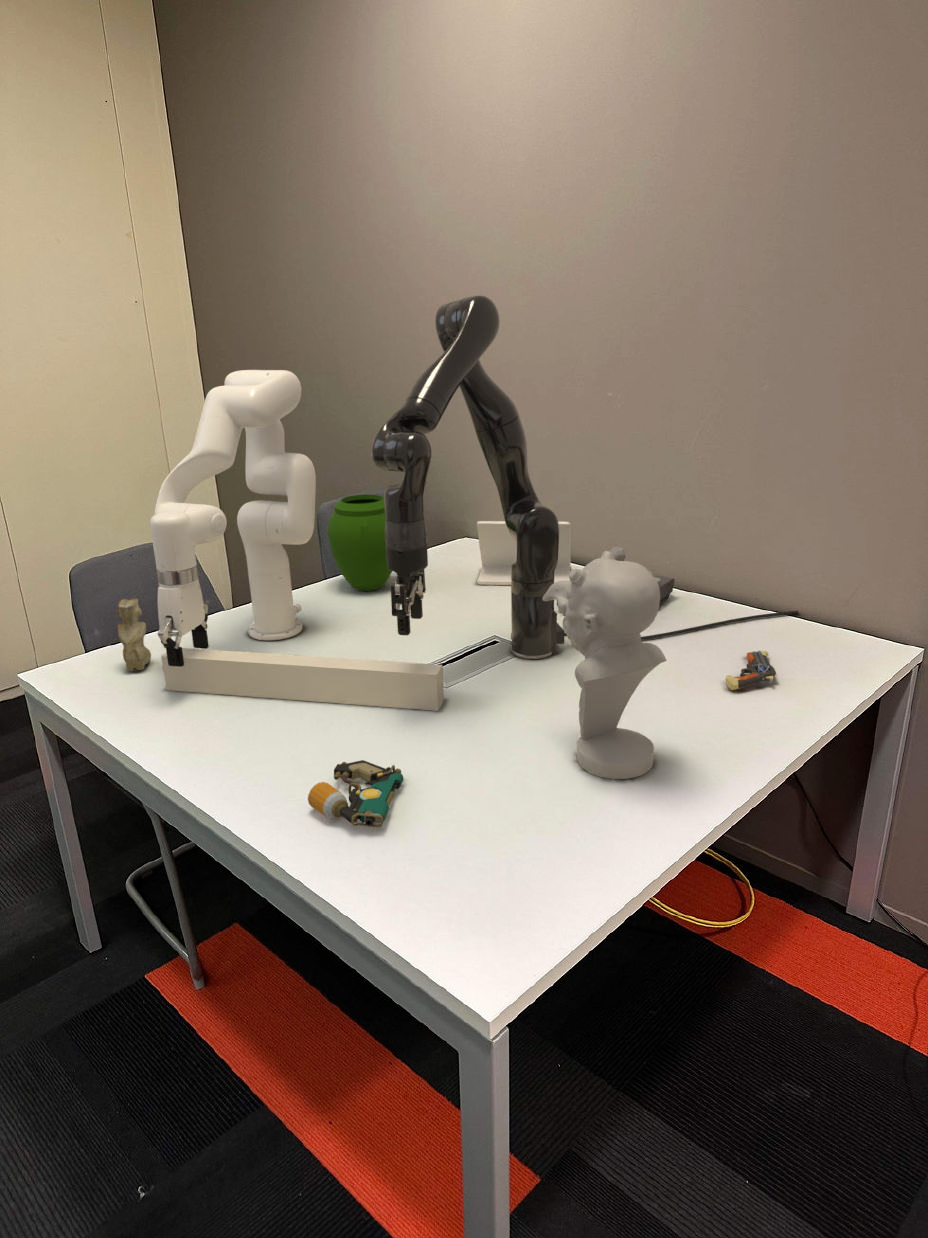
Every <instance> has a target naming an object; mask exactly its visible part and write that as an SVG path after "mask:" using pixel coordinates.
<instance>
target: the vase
mask: <svg viewBox="0 0 928 1238" xmlns="http://www.w3.org/2000/svg"><path fill="white" fill-rule="evenodd" d="M384 505H385V504H384V496H381V495H378V494H354V495H348V496H344V497H343V498H341V499H340V500H339V501H337V503H335V505H334V506H333V507H334V508H333V509H334V512H333V513H332V515H331V516H330V517H329V519H328V526H327V537H328V538H327V539H328V542H329V545H330V550H331V553H332V557H333V559H334V561H335V563H336V565H337V568H338V570H339V572H340V574H341V575H342V577H343V578H344V580H345V581H346V582H347V584H349V585H350V586H351V587H352V588H353V589H355V590H357V591H361V592H371V591H377V590H379V589H381V588H383V587H384V586H385V585H386V584H387V582H388V581H389V578H390V577H391V575H392V574H393V571H391V570H389V569H388V568H387V561H386V545H385V506H384Z"/></svg>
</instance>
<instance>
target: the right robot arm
mask: <svg viewBox="0 0 928 1238" xmlns="http://www.w3.org/2000/svg"><path fill="white" fill-rule="evenodd" d="M434 317H435V318H434V325H435V331H436V335H437V338H438V341H439V344H440V346H441V349H442V351H443V353H442V354H441V355H440V356H439V357H438V358H437V359H436V360H435V361H434V362H433V363H432V364H431V365H430V366H429V367H427V369H425V371H424V372H423V373H422V374H421V375H420V376H419V378H418V379H417V380H416V381H415V383H414V385H413V386H412V388H411V390H410V391H409V394H408V396H407V397H406V399H405V401H404V402H403V405H402V406H401V407H400V408H399V409H398V410H397V411H396V412H395V413H394V414H393V415H392V416H391V417H390V418H389V419H388V420H387V421H386V422H385V423H384V424H383V425H382V426H381V427H380V428H379V429H378V431H377V432H376V434H375V436H374V438H373V440H372V443H371V447H370V454H371V460H372V462H373V464H374V465H375V467H376V468H379V469H380V470H383V471H390V472H399V473H400V472H401V473H403V478H402V480H401V481H402V482H400V483H395V484H391V485H389V486H387V487H386V488H385V490H384V493H383V494H384V495H383V498H384V504H385V505H384V506H385V545H386V561H387V568H388V569H389V570H391V571H392V572H394V573H395V574H396V579H395V581H394V583H391V585H390V600H391V601H390V603H391V617H396V624H397V625H396V626H397V634H398V635H399V636H409V635H410V634H411V632H412V631H411V619H413V620H414V619H415V620H421V619H423V616H424V612H423V600H424V593H426V591H427V588H426V575H425V569H426V568H428V567H429V556H428V554H429V553H428V535H427V533H428V532H427V525H426V520H425V500H424V498H425V497H424V495H425V490H426V486H427V485H426V484H427V479H428V474H429V470H430V467H431V462H432V452H433V451H432V446H431V444H430V441H429V439H428V437H427V436H426V435H429V434H432V433H433V432H434V431H435V430H436V429H437V427H438V425H439V424H440V421H441V420H442V418H443V416H444V414H445V412H446V410H447V408H448V406H449V405H450V402H451V401H452V398H453V397H454V396H455V393H456V392H457V390H458V388H459V389H460V391H461V394H462V397H463V399H464V402H465V404H466V407H467V410H468V413H469V416H470V419H471V421H472V425H473V429H474V431H475V434H476V437H477V441H478V442H479V446H480V448H481V451H482V453H483V457H484V458H485V461H486V464H487V467H488V470H489V471H490V474H491V476H492V478H493V480H494V484H495V486H496V489H497V492H498V496H499V500H500V505H501V510H502V514H503V518H504V521H505V523H506V526H507V529H508V531H509V533H510V535H511V536H512V537H513V538H514V539H515V540H517V558H516V562H514V563H513V564H512V566H511V585H510V588H511V589H510V597H511V599H510V603H511V604H510V606H511V607H510V609H511V610H510V615H511V617H510V618H511V621H510V622H511V633H510V640H511V643H510V644H511V647H510V651H511V653H512V655H513V656H515V657H518V658H521V659H525V660H526V659H527V660H540V659H545V658H548V657H550V656H552V655H557V654H558V653H557V650H558V649H557V648H558V647H557V645H564V644H565V637H567V635H566V632H565V631H564V630H563V627H562V625H560V624H559V623H558V613H557V612H556V611H555V600H550V601H543V596H544V595H545V594H546V592H547V591H548V589H549V588H550V586H551V585H552V584H554V572H555V568H556V566H557V562H558V549H559V523H558V522H559V519H558V517H557V515H556V513H555V512H554V511H553V510H552V509H550V508H549V507H547V506H545V505H544V504H542V503H541V502H540V500H539V497H538V495H537V493H536V491H535V488H534V486H533V483H532V480H531V477H530V474H529V473H530V472H529V468H528V444H527V437H526V434H525V430H524V426H523V424H522V420H521V416H520V415H519V412H518V409H517V406H516V404H515V403H514V401H513V400H512V398H511V397H510V396H509V395H508V394H507V393H506V392H505V391H504V390H503V389H502V388H501V387H500V386H499V385H498V384H497V383H496V382H495V381H494V380H493V379H492V378H491V377H490V376H489V374H488V373H487V371H486V370H485V368H484V367H483V365H482V363H481V360H480V359H481V357H482V356H483V355H484V354H485V352H486V351H487V350H488V348H489V347H490V346H491V344H492V343H493V342H494V341H495V339H496V338H497V335H498V333H499V329H500V313H499V310H498V308H497V305H496V304H495V303H494V302H493V300H492V299H490V298H489V297H488V296H486V295H482V294H479V295H478V294H477V295H470V296H467V297H463V298H461V299H457V300H453V301H450V302H447V303H444V304H442V305H441V306H440V307H438V309H437V310H436V313H435V316H434ZM799 614H800V613H799V610H793V611H782V612H781V611H780V612H770V613H762V614H756V615H751V616H744V617H738V618H732V619H727V620H722V621H717V622H712V623H707V624H702V625H697V626H693V627H687V628H683V629H679V630H674V631H668V632H663V633H658V634H657V633H656V634H651V635H650V634H649V635H645V636H641V641H645V640H651V639H652V640H653V639H657V638H664V637H669V636H674V635H678V634H685V633H690V632H695V631H699V630H702V629H703V630H704V629H708V628H713V627H717V626H723V625H727V624H732V623H738V622H743V621H749V620H755V619H756V620H757V619H763V618H771V617H779V616H788V615H789V616H791V615H799Z"/></svg>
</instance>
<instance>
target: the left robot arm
mask: <svg viewBox="0 0 928 1238" xmlns="http://www.w3.org/2000/svg"><path fill="white" fill-rule="evenodd" d="M301 397H302V384H301V381H300V380H299V378H298V376H297V375H296V374H295V373H293V372H292V371H290V370H286V369H242V370H235V371H233V372H230V373H229V374H228V375H226V377H225V379H224V385H219V386H215V387H213V388H211V389H210V390H209V391H208V392H207V394H206V397H205V398H204V403H203V406H202V410H201V414H200V418H199V422H198V425H197V429H196V433H195V437H194V441H193V444H192V448H191V451H190V452H189V453H188V454H187V455H186V456H185V457H184V458H183V459H182V460H180V461H179V463H177V464H176V466H174V467H173V469H172V470H171V471H170V472H169V473H168V475H167V476H166V477H165V479H163V482H162V484H161V486H160V488H159V492H158V494H157V495H158V496H157V498H156V502H155V507H154V511H153V512H154V513H153V515H152V516H151V518H150V521H149V526H150V534H151V541H152V548H153V554H154V560H155V567H156V568H155V569H156V575H157V581H158V587H157V613H158V614H157V616H158V624H159V626H158V627H159V629H158V631H157V637H158V638H159V640H160V642H161V644H162V645H163V648H164V649H165V653H167V660H168V665H169V666H178V667H182V666H184V659H183V652H182V648H183V647H182V646H181V642H182V638H183V636H185V635H187V634H188V633H190V632H191V638H192V646H193V649H205V650H208V648H209V647H210V645H209V638H208V631H207V629H208V627H209V625H208V623H207V622H208V618H209V615H208V612H209V604H208V603H205V602H204V598H203V592H202V589H201V585H200V580H199V579H200V578H199V572H198V571H199V570H198V564H197V555H196V550H195V547H196V546H197V545H201V544H202V545H203V544H209V543H213V542H215V541H217V540H219V539H220V538H222V537H223V535H224V534H225V532H226V530H227V524H228V522H227V517H226V514H225V513H224V512H223V510H222V509H221V508H219V507H218V506H215V505H212V504H203V503H191V502H190V503H188V502H186V499H187V497H188V495H189V494H190V492H191V491H192V490H193V489H194V488H195V487H196V486H197V485H199V484H200V483H202V482H204V481H206V480H208V479H210V478H212V477H214V476H216V475H219V474H220V473H222V472H225V471H226V470H228V469H230V468H232V466H233V465H234V463H235V459H236V456H237V451H238V446H239V443H240V439H241V435H242V431H243V429H244V430H245V483H246V486H247V488H248V489H249V490H250V491H251V492H252V493H255V494H259V495H267V496H286V497H287V501H278V500H263V499H262V500H260V499H258V500H257V499H256V500H251V501H248V502H246V503H244V504H243V505H242V506H241V507H240V508H239V510H238V512H237V515H236V524H237V525H236V526H237V529H238V533H239V535H240V538H241V542H242V545H243V549H244V554H245V560H246V566H247V576H248V583H249V591H250V599H251V600H250V601H251V608H252V615H253V624H251V625H250V626H249V627H248V635H249V637H251V638H253V639H255V640H259V641H278V640H279V641H281V640H285V639H289V638H291V637H294V636H296V635H298V634H300V633H301V632H302V630H303V623H302V622H301V621H300V620H299V619H296V615H297V614H298V613H300V612H301V611H302V610H303V609H302V606H301V604H299V603H296V604H295V605H294V596H293V587H292V578H291V577H292V576H291V567H290V559H289V556H288V553H287V551H286V549H285V547H284V546H283V545H295V546H296V545H297V546H301V545H304V544H307V543H309V541H310V540H311V538H312V537H313V534H314V531H315V530H314V529H315V522H316V521H315V520H316V496H317V493H316V492H317V491H316V490H317V475H316V469H315V466H314V464H313V462H312V460H311V459H310V457H308V456H307V455H305V454H303V453H299V452H286V447H285V446H286V445H285V443H286V442H285V440H286V439H285V428H284V425H283V423H282V421H281V419H282V418H284V417H285V416H287V415H289V414H290V413H291V412H293V411H295V409H296V408H297V406H298V405H299V403H300V401H301V399H302V398H301ZM172 637H175V638H174V640H173V638H172Z"/></svg>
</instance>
